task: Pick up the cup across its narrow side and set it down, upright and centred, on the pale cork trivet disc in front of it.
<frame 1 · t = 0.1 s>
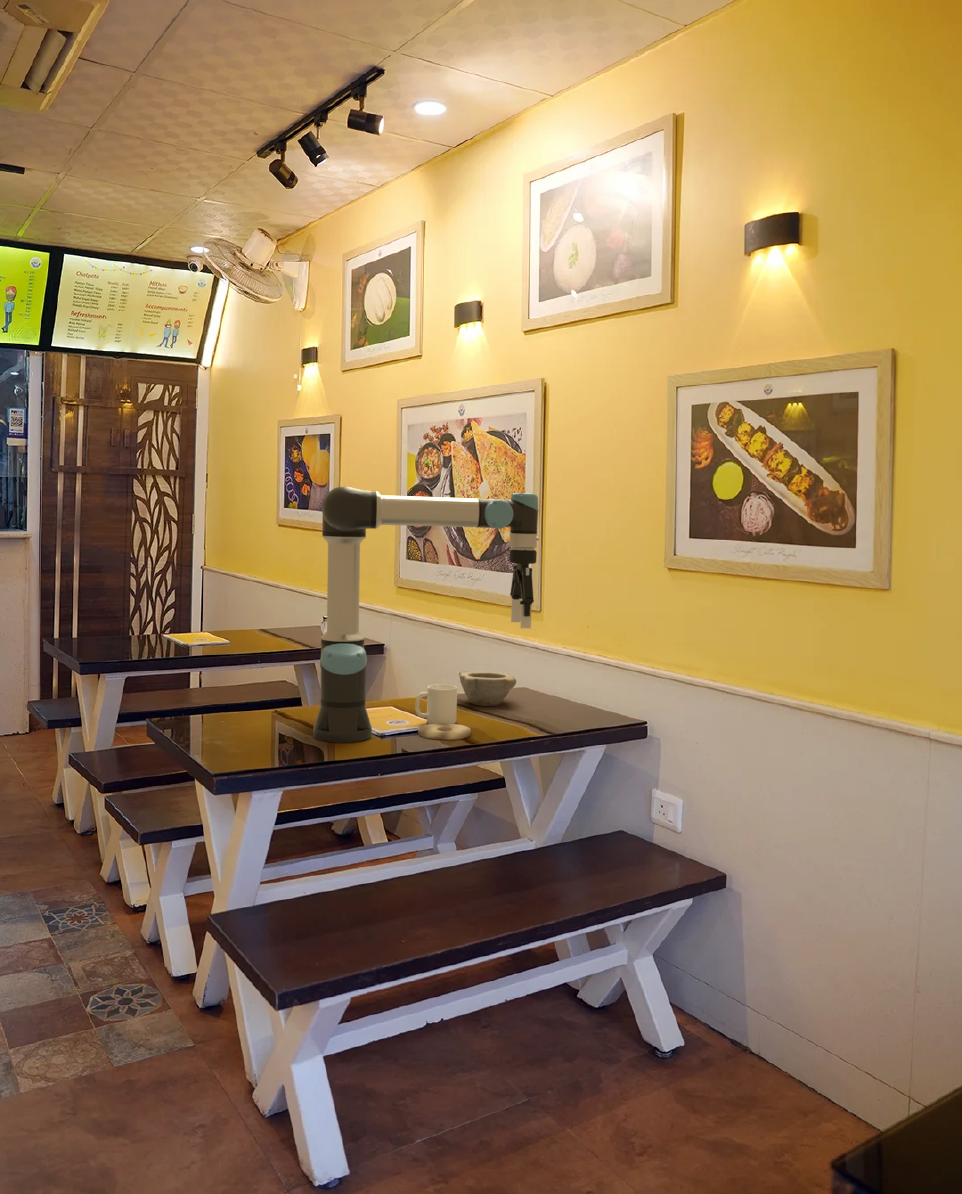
hand: (520, 625, 279), 28 cm above the table, fingers open, 13 cm apart
cup: (435, 723, 280), on the table
trivet: (444, 733, 267), on the table
mortar: (486, 703, 309), on the table
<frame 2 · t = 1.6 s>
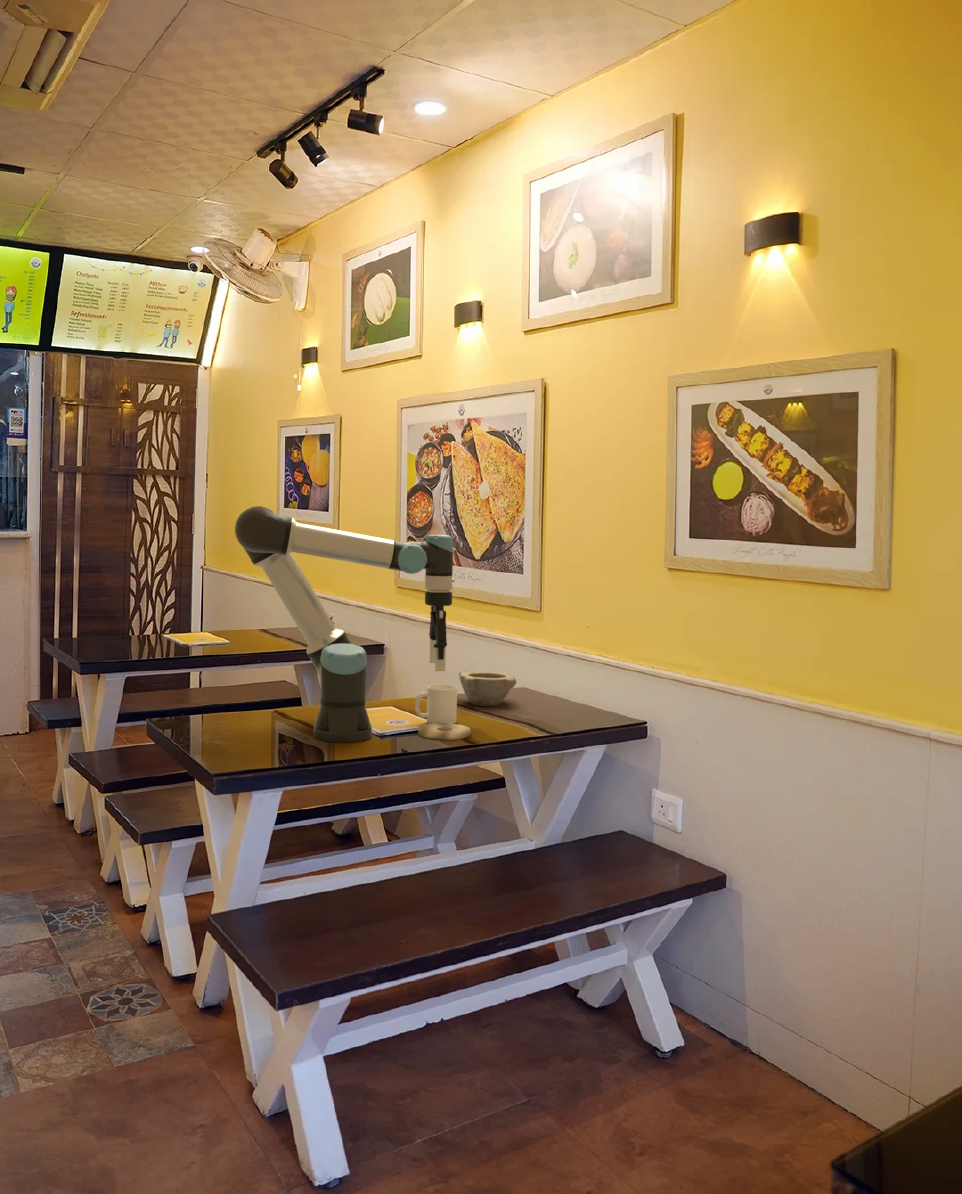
hand: (437, 667, 278), 16 cm above the table, fingers open, 13 cm apart
nothing on the table moved.
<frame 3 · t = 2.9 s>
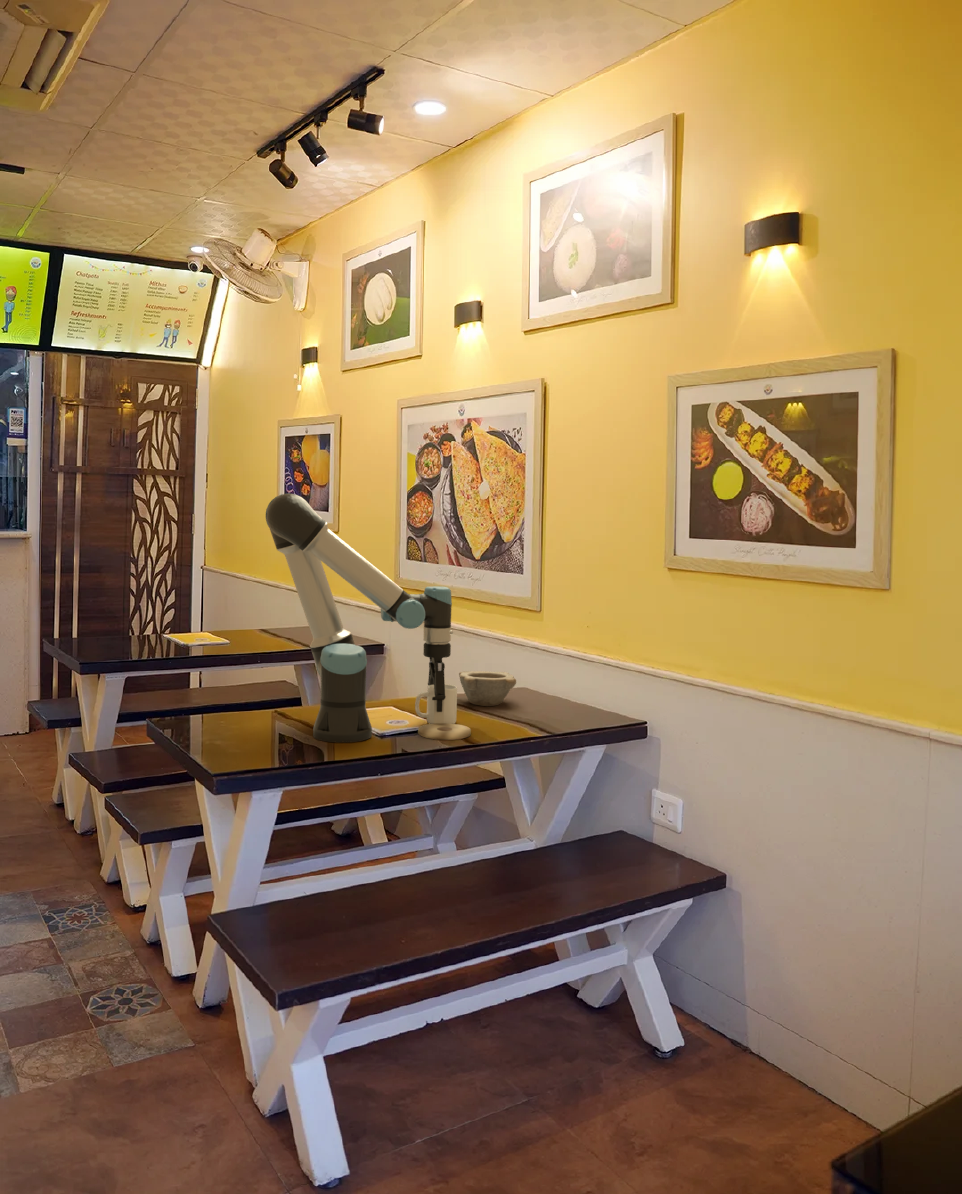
hand: (435, 718, 279), 1 cm above the table, fingers open, 13 cm apart
nothing on the table moved.
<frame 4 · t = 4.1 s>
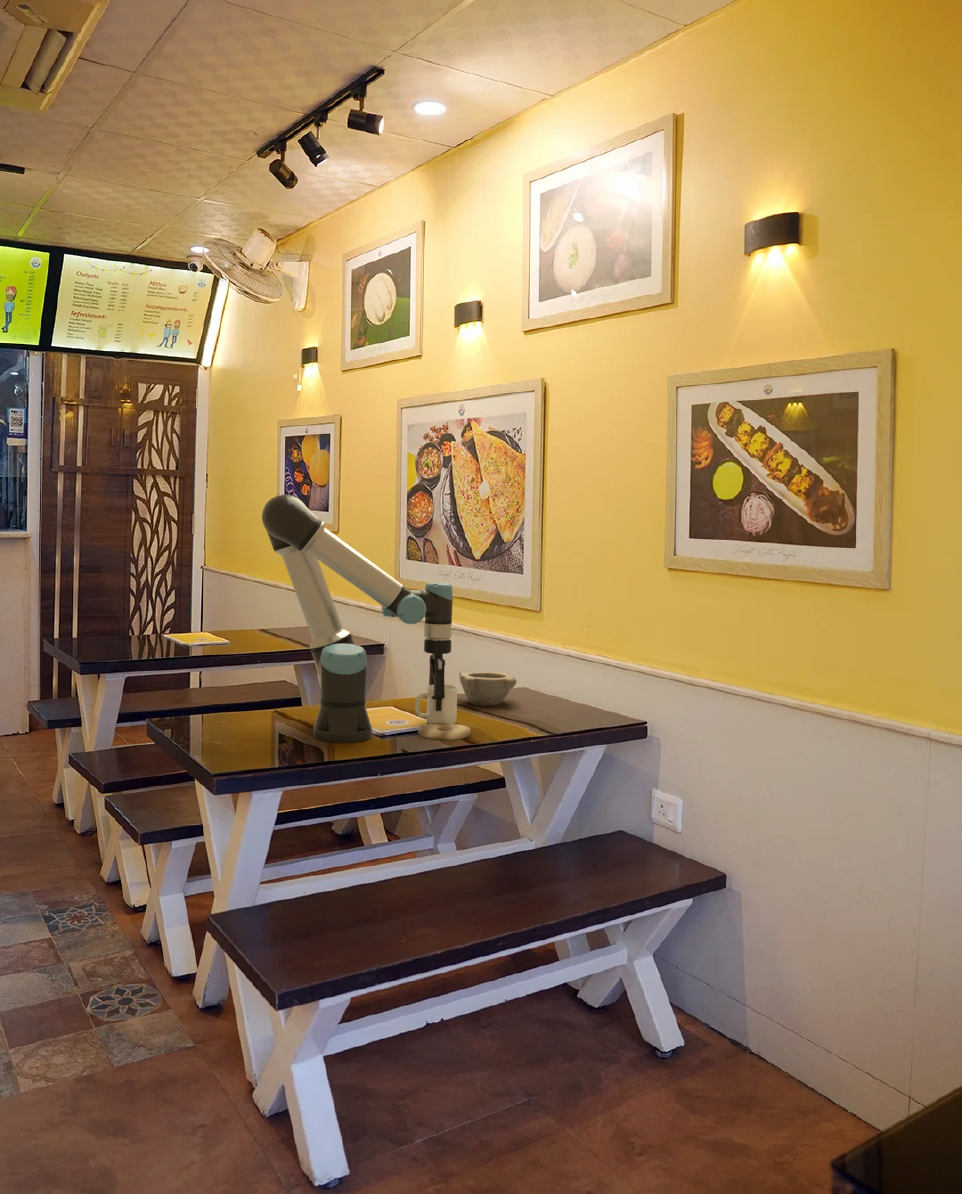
hand: (435, 718, 279), 1 cm above the table, fingers open, 9 cm apart
cup: (435, 723, 279), on the table, touching gripper
everything else where it was.
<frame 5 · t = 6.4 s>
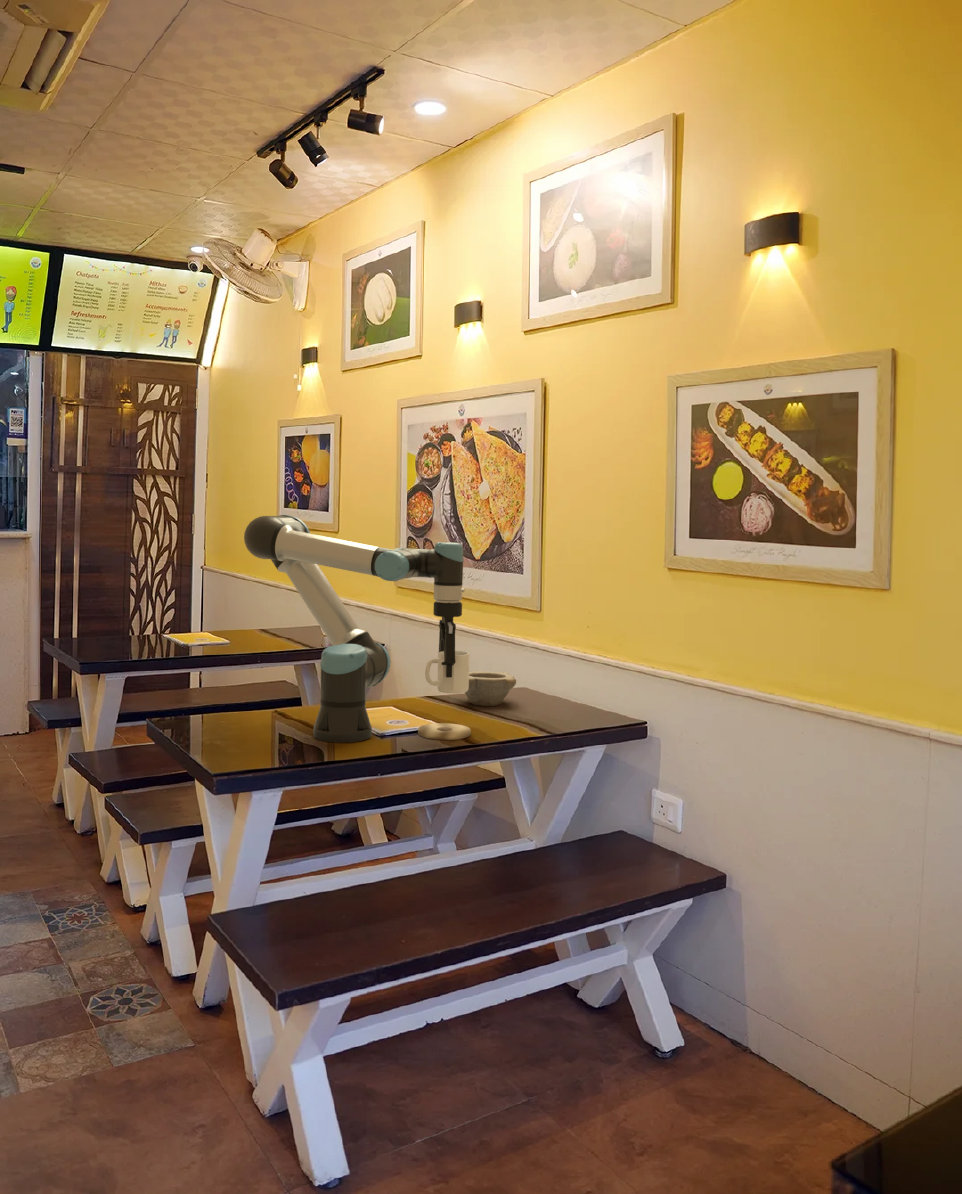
hand: (445, 686, 266), 13 cm above the table, fingers closed on cup, 8 cm apart
cup: (446, 691, 265), point 11 cm above the table, touching gripper
everything else where it was.
when the fingers open (3 cm above the table, at t = 8.6 s): cup stays where it is, resting on trivet.
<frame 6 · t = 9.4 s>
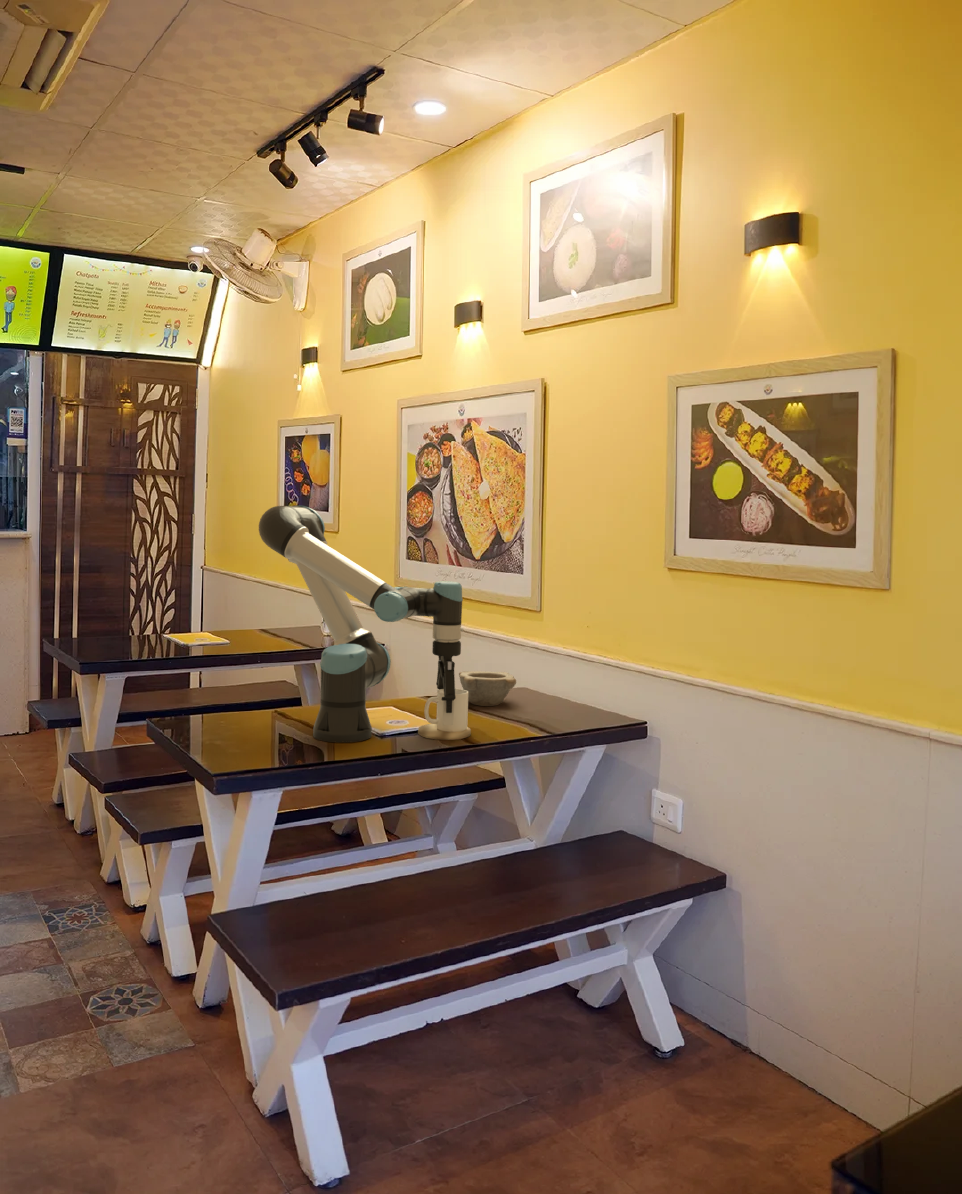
hand: (444, 719, 267), 4 cm above the table, fingers open, 13 cm apart
cup: (445, 730, 266), point 1 cm above the table, touching trivet
everything else where it was.
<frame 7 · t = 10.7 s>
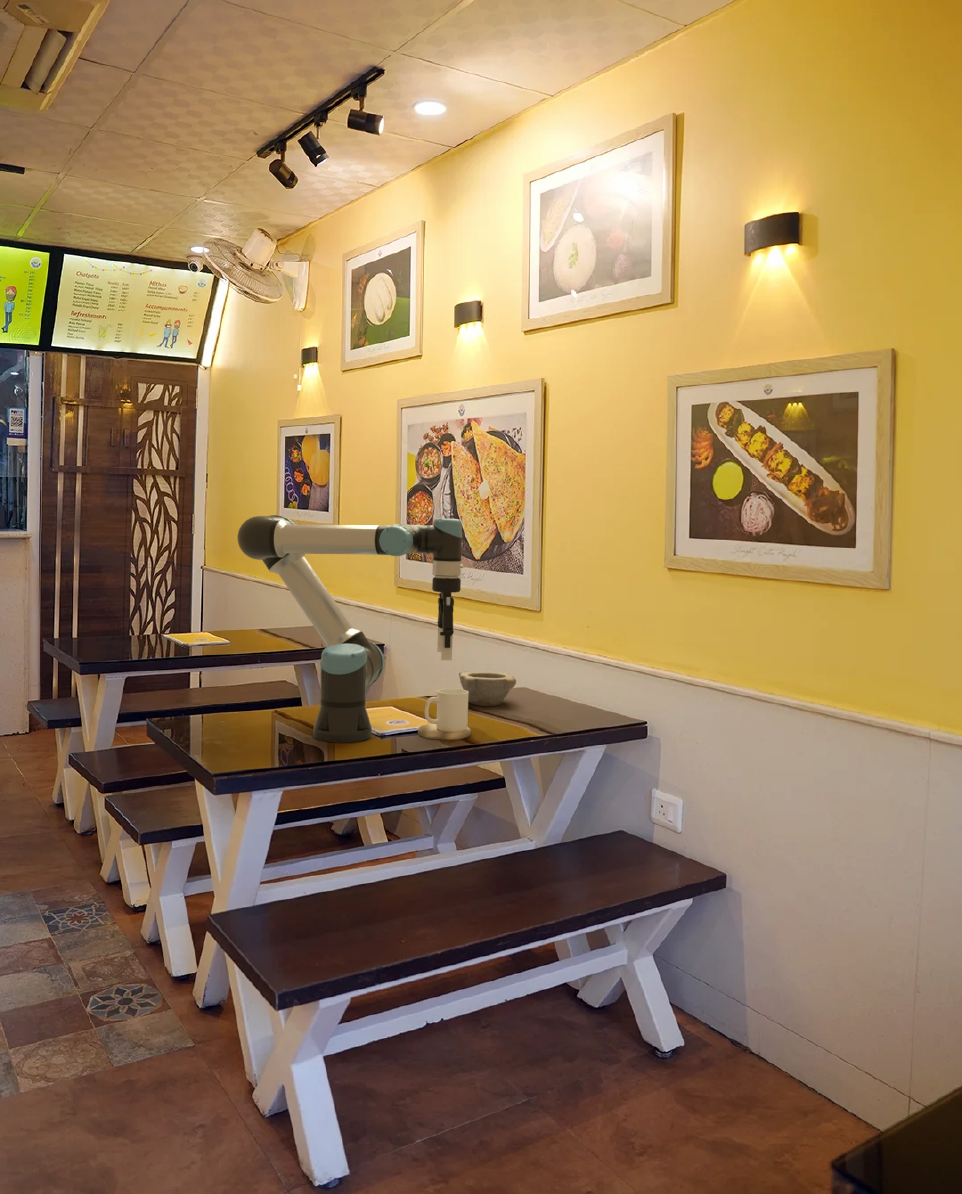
hand: (444, 656, 268), 20 cm above the table, fingers open, 13 cm apart
nothing on the table moved.
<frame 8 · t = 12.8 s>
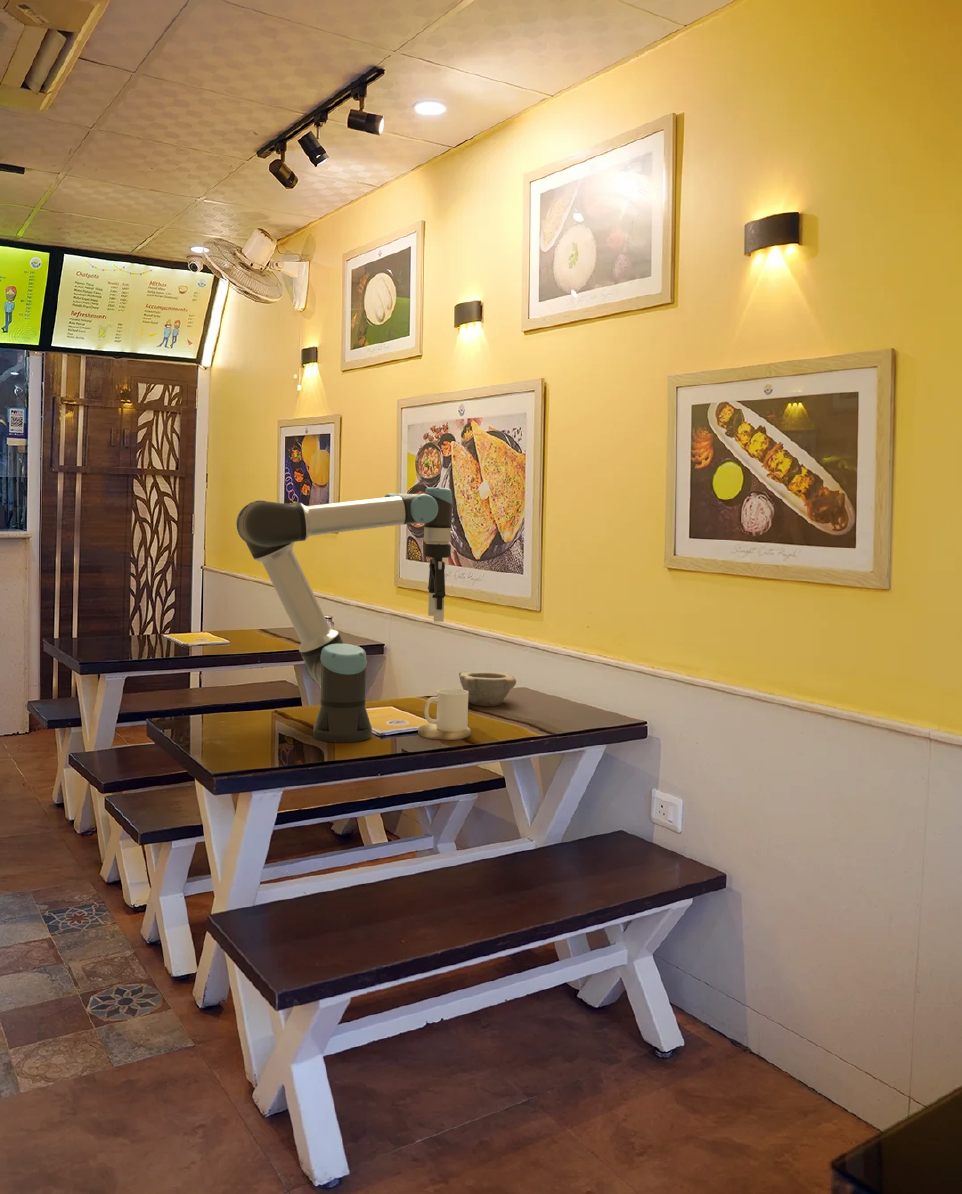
hand: (435, 618, 282), 29 cm above the table, fingers open, 13 cm apart
nothing on the table moved.
at the end: cup 0.5 cm from the trivet (horizontally); cup tilted 0°; cup touching trivet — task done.
